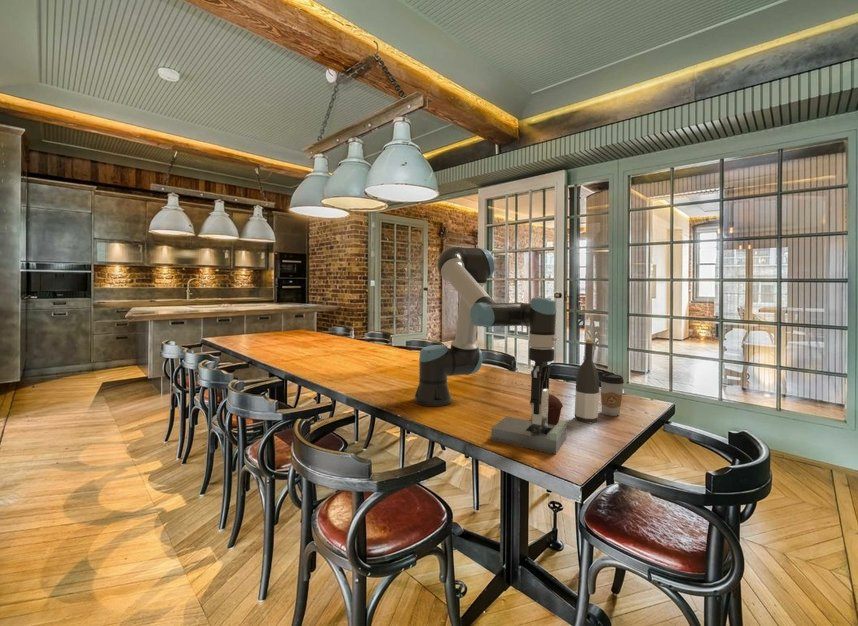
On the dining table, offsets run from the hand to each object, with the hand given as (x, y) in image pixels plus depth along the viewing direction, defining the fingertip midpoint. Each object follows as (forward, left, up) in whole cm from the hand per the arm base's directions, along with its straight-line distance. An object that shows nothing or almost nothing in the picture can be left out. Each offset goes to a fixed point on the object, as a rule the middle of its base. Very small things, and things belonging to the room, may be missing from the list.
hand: (539, 421), depth 129 cm
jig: (-3, 0, -7) cm, 7 cm away
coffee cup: (+16, +45, -7) cm, 48 cm away
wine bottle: (+9, +32, -7) cm, 34 cm away
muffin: (-3, +21, -7) cm, 22 cm away
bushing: (0, 0, -4) cm, 4 cm away
